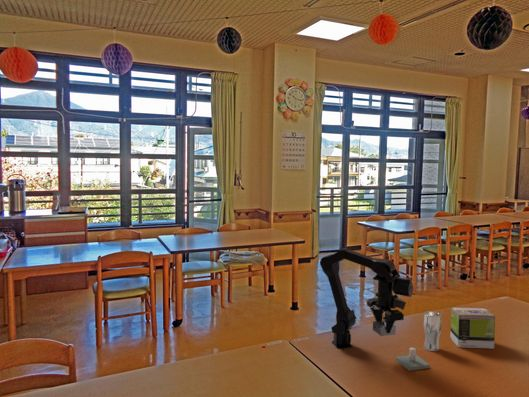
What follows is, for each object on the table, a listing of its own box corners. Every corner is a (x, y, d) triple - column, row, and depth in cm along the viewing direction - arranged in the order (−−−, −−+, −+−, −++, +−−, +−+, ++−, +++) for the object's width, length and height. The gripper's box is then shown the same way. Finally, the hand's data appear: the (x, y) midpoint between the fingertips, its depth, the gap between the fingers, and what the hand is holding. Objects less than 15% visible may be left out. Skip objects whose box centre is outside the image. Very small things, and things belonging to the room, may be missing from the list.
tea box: (484, 339, 184) (486, 307, 183) (494, 349, 174) (496, 315, 173) (449, 338, 186) (450, 306, 185) (457, 348, 176) (459, 314, 175)
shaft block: (408, 370, 156) (409, 355, 156) (395, 359, 165) (396, 345, 164) (429, 367, 158) (430, 352, 158) (415, 357, 167) (416, 342, 167)
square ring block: (380, 336, 162) (381, 327, 162) (372, 329, 168) (373, 321, 168) (395, 334, 164) (395, 325, 163) (386, 328, 170) (387, 320, 170)
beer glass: (421, 349, 174) (423, 315, 172) (423, 343, 180) (425, 310, 179) (439, 353, 171) (441, 318, 169) (441, 346, 177) (442, 312, 175)
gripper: (416, 297, 157) (415, 337, 159) (390, 283, 175) (389, 319, 177) (390, 299, 155) (389, 340, 156) (366, 285, 173) (365, 321, 174)
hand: (383, 329), depth 166 cm, fingers closed on square ring block, 6 cm apart
